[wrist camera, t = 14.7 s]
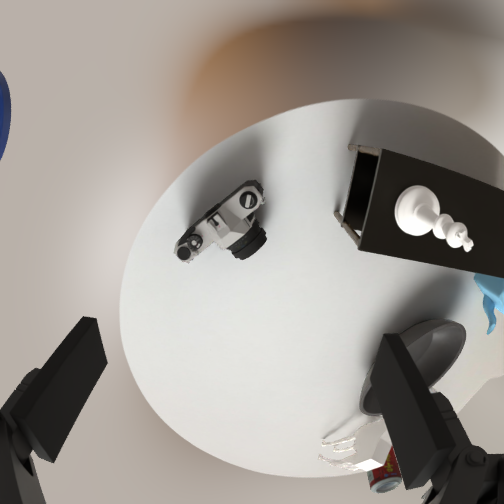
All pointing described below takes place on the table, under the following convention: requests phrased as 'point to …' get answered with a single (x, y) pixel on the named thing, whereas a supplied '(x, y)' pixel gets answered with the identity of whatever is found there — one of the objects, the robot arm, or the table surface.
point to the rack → (450, 201)
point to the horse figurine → (365, 446)
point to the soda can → (385, 475)
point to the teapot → (491, 296)
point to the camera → (227, 226)
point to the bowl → (423, 355)
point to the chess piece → (428, 217)
